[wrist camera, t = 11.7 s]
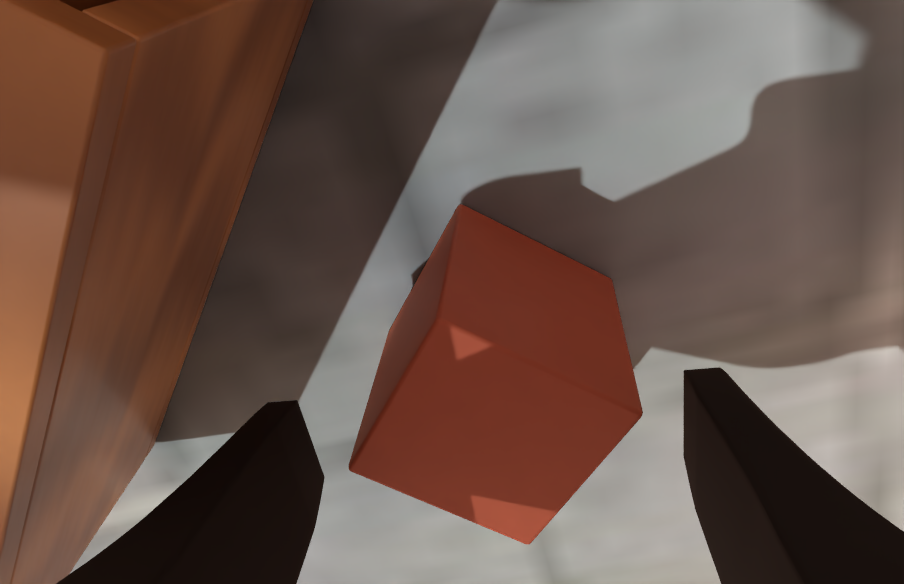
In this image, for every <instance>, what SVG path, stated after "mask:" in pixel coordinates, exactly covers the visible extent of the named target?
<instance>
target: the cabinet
mask: <svg viewBox="0 0 904 584" xmlns="http://www.w3.org/2000/svg"><path fill="white" fill-rule="evenodd" d="M313 1H314V0H117V1H113V2H109V3H106V4H102V5H98V6H95V7H91V8H88V9H84V10H83V11H82V12H81V11H79V10H77V9H75V8H73V7H71V6H69V5H67V4H65V3H63V2H61V1H59V0H0V584H56V583H57V582H59V581H60V580H62V579H63V578H65V577H66V576H68V575H69V573H70V572H71V570H72V569H73V567H74V566H75V564H76V563H77V561H78V560H79V558H80V557H81V555H82V554H83V552H84V551H85V549H86V548H87V546H88V545H89V543H90V542H91V540H92V539H93V537H94V535H95V534H96V532H97V531H98V529H99V528H100V526H101V525H102V523H103V522H104V520H105V519H106V517H107V516H108V514H109V513H110V511H111V510H112V508H113V507H114V505H115V504H116V502H117V501H118V499H119V498H120V496H121V495H122V493H123V492H124V490H125V489H126V487H127V486H128V484H129V483H130V481H131V479H132V478H133V476H134V475H135V473H136V472H137V470H138V469H139V467H140V466H141V464H142V463H143V461H144V460H145V457H146V456H147V455H148V454H149V452H150V451H151V449H152V447H153V446H154V444H155V441H156V438H157V436H158V433H159V430H160V427H161V424H162V422H163V419H164V416H165V413H166V410H167V408H168V405H169V402H170V399H171V397H172V394H173V391H174V388H175V385H176V383H177V380H178V377H179V374H180V371H181V369H182V366H183V363H184V360H185V357H186V355H187V352H188V349H189V346H190V344H191V341H192V338H193V335H194V332H195V330H196V327H197V324H198V321H199V318H200V316H201V313H202V310H203V307H204V305H205V302H206V299H207V296H208V293H209V291H210V288H211V285H212V282H213V279H214V277H215V274H216V271H217V268H218V265H219V263H220V260H221V257H222V254H223V252H224V249H225V246H226V243H227V240H228V238H229V235H230V232H231V229H232V226H233V224H234V221H235V218H236V215H237V213H238V210H239V207H240V204H241V201H242V199H243V196H244V193H245V190H246V187H247V185H248V182H249V179H250V176H251V173H252V171H253V168H254V165H255V162H256V160H257V157H258V154H259V151H260V148H261V146H262V143H263V140H264V137H265V134H266V132H267V129H268V126H269V123H270V121H271V118H272V115H273V112H274V109H275V107H276V104H277V101H278V98H279V95H280V93H281V90H282V87H283V84H284V82H285V79H286V76H287V73H288V70H289V68H290V65H291V62H292V59H293V56H294V54H295V51H296V48H297V45H298V42H299V40H300V37H301V34H302V31H303V29H304V26H305V23H306V20H307V17H308V15H309V12H310V9H311V6H312V3H313Z"/></svg>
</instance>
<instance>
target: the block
mask: <svg viewBox="0 0 904 584" xmlns="http://www.w3.org/2000/svg"><path fill="white" fill-rule="evenodd" d="M642 413H643V411H642V407H641V402H640V398H639V394H638V389H637V385H636V381H635V376H634V372H633V368H632V364H631V359H630V355H629V351H628V346H627V342H626V338H625V333H624V329H623V325H622V321H621V316H620V312H619V308H618V303H617V299H616V295H615V290H614V286H613V282H612V280H611V278H609V277H607V276H605V275H603V274H601V273H599V272H597V271H595V270H593V269H591V268H589V267H587V266H585V265H583V264H581V263H579V262H577V261H575V260H573V259H571V258H569V257H567V256H565V255H563V254H561V253H559V252H557V251H555V250H553V249H551V248H549V247H547V246H545V245H543V244H541V243H539V242H536V241H534V240H532V239H530V238H528V237H526V236H524V235H522V234H520V233H518V232H516V231H514V230H512V229H510V228H508V227H506V226H504V225H502V224H500V223H498V222H496V221H494V220H492V219H490V218H488V217H486V216H484V215H482V214H480V213H478V212H476V211H474V210H472V209H470V208H468V207H466V206H464V205H462V204H460V205H459V206H458V207H457V208H456V210H455V212H454V214H453V216H452V217H451V219H450V221H449V223H448V225H447V227H446V228H445V230H444V232H443V234H442V236H441V237H440V239H439V241H438V243H437V245H436V247H435V248H434V250H433V252H432V254H431V256H430V257H429V259H428V261H427V263H426V265H425V266H424V268H423V270H422V272H421V274H420V276H419V277H418V279H417V281H416V283H415V285H414V286H413V288H412V290H411V292H410V294H409V295H408V297H407V299H406V301H405V303H404V305H403V306H402V308H401V310H400V312H399V314H398V315H397V317H396V319H395V321H394V323H393V325H392V326H391V328H390V330H389V333H388V336H387V339H386V343H385V346H384V349H383V353H382V356H381V359H380V363H379V366H378V369H377V373H376V376H375V379H374V383H373V386H372V389H371V393H370V396H369V399H368V403H367V406H366V409H365V413H364V416H363V419H362V423H361V426H360V429H359V433H358V436H357V439H356V443H355V446H354V449H353V453H352V456H351V459H350V463H349V470H350V471H352V472H354V473H356V474H359V475H361V476H364V477H366V478H368V479H371V480H373V481H376V482H378V483H380V484H383V485H385V486H388V487H390V488H392V489H395V490H397V491H400V492H402V493H404V494H407V495H409V496H412V497H414V498H416V499H419V500H421V501H424V502H426V503H428V504H431V505H433V506H436V507H438V508H440V509H443V510H445V511H448V512H450V513H452V514H455V515H457V516H460V517H462V518H464V519H467V520H469V521H472V522H474V523H476V524H479V525H481V526H484V527H486V528H488V529H491V530H493V531H496V532H498V533H500V534H503V535H505V536H508V537H510V538H512V539H515V540H517V541H520V542H522V543H524V544H530V543H531V542H532V541H533V540H534V539H535V538H536V537H537V535H538V534H539V533H540V532H541V531H542V530H543V529H544V527H545V526H546V525H547V524H548V523H549V522H550V521H551V519H552V518H553V517H554V516H555V515H556V514H557V513H558V511H559V510H560V509H561V508H562V507H563V506H564V505H565V503H566V502H567V501H568V500H569V499H570V498H571V497H572V495H573V494H574V493H575V492H576V491H577V490H578V489H579V487H580V486H581V485H582V484H583V483H584V482H585V481H586V479H587V478H588V477H589V476H590V475H591V474H592V473H593V471H594V470H595V469H596V468H597V467H598V466H599V465H600V463H601V462H602V461H603V460H604V459H605V458H606V457H607V455H608V454H609V453H610V452H611V451H612V450H613V449H614V448H615V446H616V445H617V444H618V443H619V442H620V441H621V440H622V438H623V437H624V436H625V435H626V434H627V433H628V432H629V430H630V429H631V428H632V427H633V426H634V425H635V424H636V422H637V421H638V420H639V419H640V418H641V416H642Z"/></svg>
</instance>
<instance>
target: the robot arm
mask: <svg viewBox="0 0 904 584" xmlns="http://www.w3.org/2000/svg"><path fill="white" fill-rule="evenodd" d="M684 460H685V465H686V470H687V474H688V479H689V483H690V488H691V492H692V497H693V501H694V505H695V509H696V512H697V515H698V518H699V521H700V524H701V527H702V530H703V533H704V536H705V538H706V541H707V544H708V547H709V550H710V553H711V556H712V558H713V561H714V564H715V567H716V570H717V573H718V575H719V578H720V581H721V584H904V532H903V531H902V530H900V529H899V528H898V527H896V526H895V525H894V524H892V523H891V522H889V521H888V520H887V519H885V518H884V517H883V516H881V515H880V514H878V513H877V512H876V511H874V510H873V509H872V508H870V507H869V506H868V505H866V504H865V503H864V502H863V501H861V500H860V499H859V498H857V497H856V496H855V495H854V494H853V493H851V492H850V491H849V490H848V489H846V488H845V487H844V486H843V485H841V484H840V483H839V482H838V481H837V480H836V479H834V478H833V477H832V476H831V475H830V474H828V473H827V472H826V471H825V470H824V469H823V468H821V467H820V466H819V465H818V464H817V463H816V462H815V461H814V460H812V459H811V458H810V457H809V456H808V455H807V454H806V453H805V452H804V451H802V450H801V449H800V448H799V447H798V446H797V445H796V444H795V443H794V442H793V441H792V440H791V439H790V438H789V437H788V436H787V435H786V434H785V433H783V432H782V431H781V430H780V429H779V428H778V427H777V426H776V425H775V424H774V423H773V422H772V421H771V420H770V419H769V418H768V417H767V416H766V415H765V414H764V413H763V412H762V411H761V410H760V409H759V408H758V406H757V405H756V404H755V403H754V402H753V401H752V400H751V399H750V398H749V397H748V396H747V395H746V394H745V393H744V392H743V391H742V389H741V388H740V387H739V386H738V385H737V384H736V383H735V382H734V381H733V380H732V378H731V377H730V376H729V375H728V374H727V373H726V372H725V371H724V370H723V369H721V368H708V369H695V370H684ZM323 483H324V475H323V472H322V469H321V466H320V463H319V460H318V458H317V455H316V452H315V449H314V446H313V443H312V441H311V438H310V435H309V432H308V429H307V427H306V424H305V421H304V418H303V415H302V412H301V410H300V407H299V404H298V401H297V400H294V401H281V402H268V403H267V404H265V405H264V406H263V407H262V408H261V409H260V410H259V411H258V412H257V413H255V414H254V415H253V416H252V417H251V418H250V419H249V420H248V421H247V422H246V423H245V424H244V425H243V426H242V427H241V428H240V429H239V430H238V431H237V432H236V433H235V434H234V435H233V436H232V437H231V438H230V439H229V440H228V441H227V442H226V443H225V444H224V445H223V446H222V447H221V448H220V449H219V450H218V451H217V452H215V453H214V454H213V455H212V456H211V457H210V458H209V459H208V460H207V461H206V462H205V463H204V464H203V465H202V466H201V467H200V468H199V469H198V470H197V471H196V472H195V473H194V474H193V475H192V476H191V477H190V478H188V479H187V480H186V481H185V482H184V483H183V484H182V485H181V486H179V487H178V488H177V489H176V490H175V491H174V492H173V493H172V494H171V495H169V496H168V497H167V498H166V499H165V500H164V501H163V502H162V503H160V504H159V505H158V506H157V507H156V508H155V509H154V510H153V511H152V512H150V513H149V514H148V515H147V516H146V517H145V518H143V519H142V520H141V521H140V522H139V523H137V524H136V525H135V526H134V527H132V528H131V529H130V530H129V531H128V532H126V533H125V534H124V535H123V536H121V537H120V538H119V539H117V540H116V541H115V542H113V543H112V544H111V545H109V546H108V547H107V548H106V549H104V550H103V551H102V552H100V553H99V554H98V555H96V556H95V557H94V558H92V559H91V560H90V561H88V562H87V563H85V564H84V565H82V566H81V567H79V568H78V569H77V570H75V571H74V572H72V573H71V574H69V575H68V576H66V577H65V578H63V579H62V580H60V581H59V582H57V583H56V584H296V583H297V580H298V577H299V574H300V571H301V568H302V565H303V562H304V559H305V556H306V553H307V550H308V547H309V544H310V541H311V538H312V535H313V532H314V528H315V525H316V520H317V515H318V510H319V505H320V500H321V494H322V489H323Z"/></svg>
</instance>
